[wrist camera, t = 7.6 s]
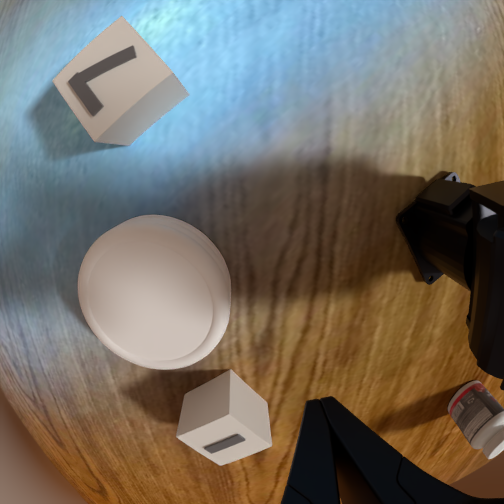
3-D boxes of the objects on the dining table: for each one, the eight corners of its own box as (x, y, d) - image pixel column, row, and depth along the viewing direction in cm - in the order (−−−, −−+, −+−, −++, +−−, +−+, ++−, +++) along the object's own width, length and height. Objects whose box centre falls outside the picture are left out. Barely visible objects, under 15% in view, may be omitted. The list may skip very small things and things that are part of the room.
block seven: (190, 95, 16) (172, 71, 11) (129, 146, 17) (92, 141, 12) (147, 46, 15) (120, 14, 10) (91, 95, 16) (50, 79, 11)
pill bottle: (484, 384, 25) (524, 430, 16) (456, 414, 27) (490, 464, 17) (470, 374, 24) (515, 426, 15) (439, 408, 26) (476, 464, 16)
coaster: (126, 187, 18) (103, 192, 14) (258, 259, 20) (262, 279, 16) (82, 304, 20) (61, 326, 17) (193, 364, 22) (187, 393, 19)
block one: (267, 402, 23) (272, 448, 18) (222, 423, 24) (220, 467, 19) (230, 368, 22) (229, 416, 17) (184, 393, 23) (175, 438, 18)
